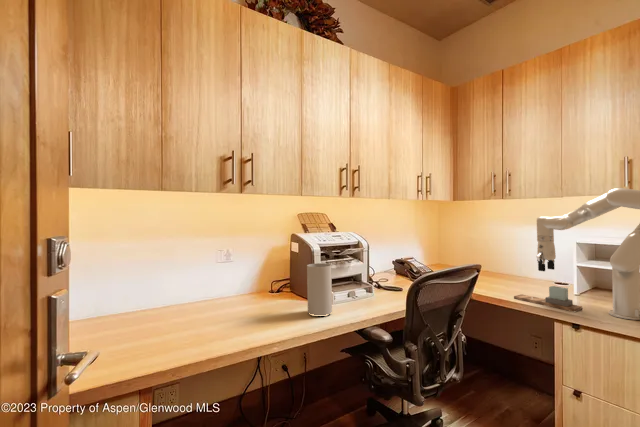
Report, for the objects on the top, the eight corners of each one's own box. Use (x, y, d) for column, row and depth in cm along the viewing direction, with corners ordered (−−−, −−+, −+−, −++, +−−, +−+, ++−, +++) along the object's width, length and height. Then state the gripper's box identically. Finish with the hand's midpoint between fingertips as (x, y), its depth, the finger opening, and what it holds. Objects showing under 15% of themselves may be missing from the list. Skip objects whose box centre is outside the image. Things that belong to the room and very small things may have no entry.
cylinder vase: (316, 308, 173) (315, 262, 173) (336, 312, 166) (335, 264, 166) (302, 315, 162) (302, 266, 162) (323, 319, 155) (322, 267, 156)
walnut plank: (582, 309, 164) (582, 306, 164) (574, 311, 161) (574, 308, 161) (521, 296, 191) (521, 294, 191) (513, 298, 187) (513, 296, 187)
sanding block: (572, 304, 167) (572, 288, 167) (566, 306, 164) (566, 290, 164) (551, 300, 176) (550, 285, 176) (545, 302, 173) (545, 286, 173)
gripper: (544, 240, 168) (546, 272, 168) (560, 238, 177) (562, 269, 177) (529, 239, 175) (530, 270, 175) (545, 237, 183) (546, 267, 183)
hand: (546, 270), depth 176 cm, fingers open, 9 cm apart
